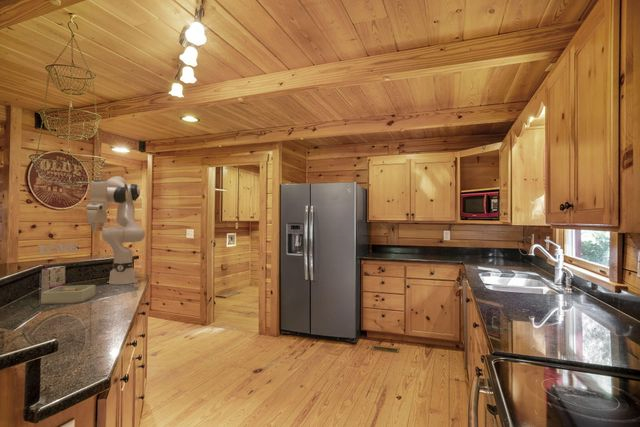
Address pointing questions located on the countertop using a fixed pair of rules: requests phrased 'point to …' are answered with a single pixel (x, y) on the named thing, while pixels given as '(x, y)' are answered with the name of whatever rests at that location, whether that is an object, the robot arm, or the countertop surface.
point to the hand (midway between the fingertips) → (97, 230)
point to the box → (68, 295)
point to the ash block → (70, 289)
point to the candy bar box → (53, 277)
